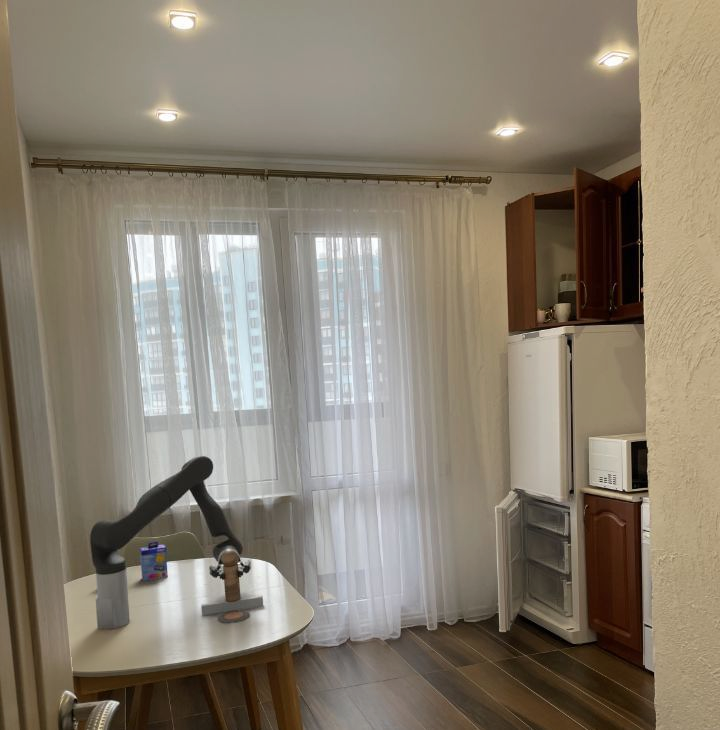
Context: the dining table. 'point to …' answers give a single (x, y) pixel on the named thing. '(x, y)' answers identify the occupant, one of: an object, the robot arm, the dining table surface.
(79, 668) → the dining table surface
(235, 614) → the pad
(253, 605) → the low wall
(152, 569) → the ink cartridge box
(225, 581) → the skittle
